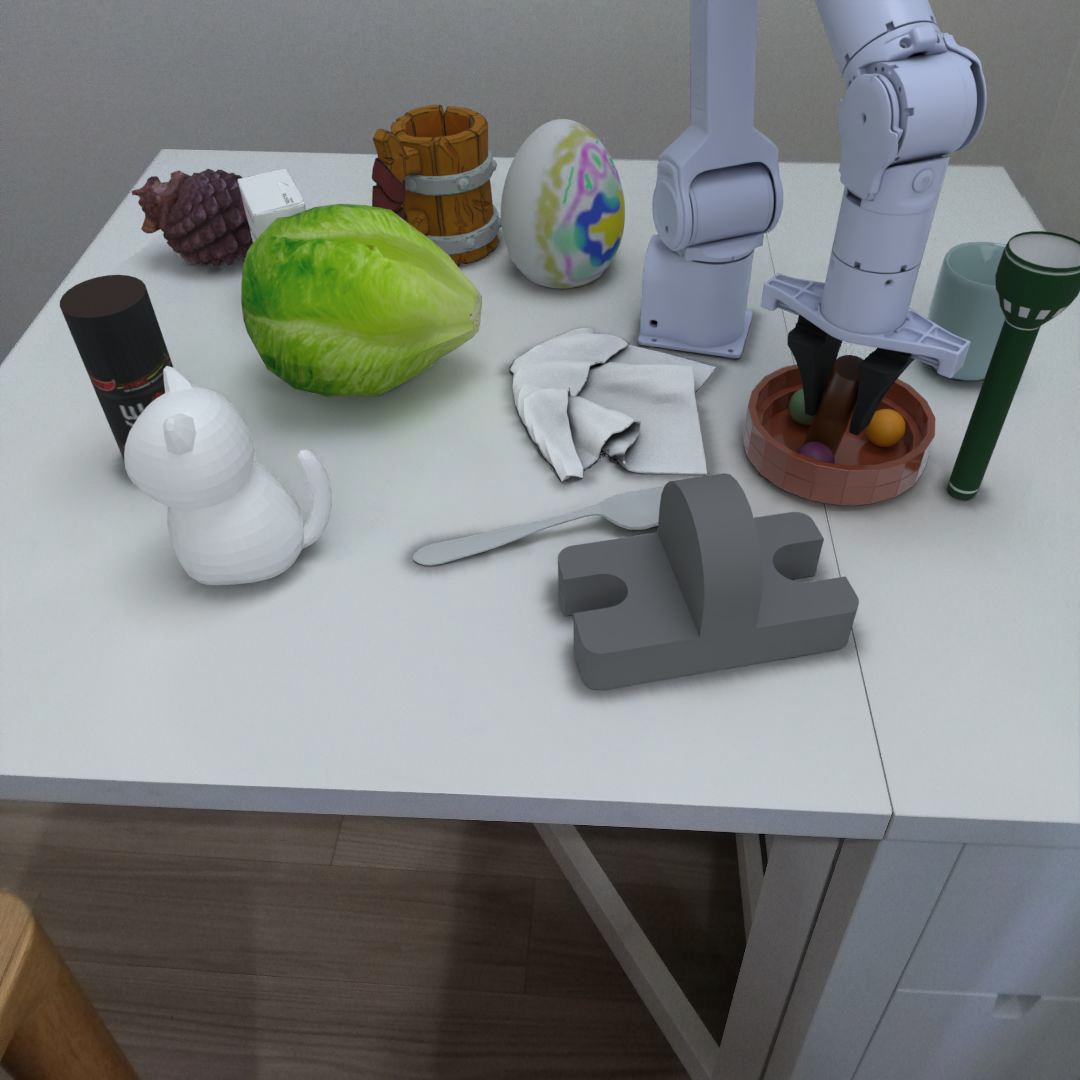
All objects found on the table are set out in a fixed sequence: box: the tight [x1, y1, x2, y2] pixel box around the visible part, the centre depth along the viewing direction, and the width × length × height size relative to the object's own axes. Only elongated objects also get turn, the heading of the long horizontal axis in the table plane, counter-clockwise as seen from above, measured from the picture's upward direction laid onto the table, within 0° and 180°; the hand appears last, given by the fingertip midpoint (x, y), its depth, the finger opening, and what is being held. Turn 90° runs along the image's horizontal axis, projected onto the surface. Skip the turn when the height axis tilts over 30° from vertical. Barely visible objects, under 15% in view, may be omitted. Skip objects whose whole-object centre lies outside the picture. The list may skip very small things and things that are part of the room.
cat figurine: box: [123, 366, 333, 586], centre depth 66 cm, size 9×12×15 cm
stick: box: [803, 354, 864, 456], centre depth 73 cm, size 3×3×9 cm
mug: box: [371, 104, 502, 266], centre depth 99 cm, size 11×16×15 cm, turn 148°
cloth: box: [508, 327, 717, 482], centre depth 82 cm, size 20×22×2 cm
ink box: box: [238, 168, 307, 243], centre depth 93 cm, size 8×5×12 cm, turn 23°
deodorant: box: [59, 274, 175, 463], centre depth 75 cm, size 6×6×15 cm
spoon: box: [412, 487, 664, 566], centre depth 72 cm, size 4×21×2 cm, turn 104°
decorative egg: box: [500, 118, 626, 289], centre depth 95 cm, size 12×12×15 cm
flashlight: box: [947, 230, 1080, 501], centre depth 68 cm, size 5×5×20 cm
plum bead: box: [796, 442, 835, 464], centre depth 74 cm, size 3×3×3 cm
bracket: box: [557, 472, 860, 691], centre depth 63 cm, size 10×18×11 cm, turn 101°
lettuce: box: [240, 203, 483, 398], centre depth 82 cm, size 17×20×15 cm
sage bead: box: [788, 389, 814, 425], centre depth 79 cm, size 3×3×3 cm
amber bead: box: [865, 409, 906, 447], centre depth 77 cm, size 3×3×3 cm
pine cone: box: [131, 168, 253, 268], centre depth 102 cm, size 18×10×10 cm
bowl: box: [742, 363, 936, 506], centre depth 77 cm, size 14×14×4 cm
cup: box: [926, 241, 1007, 382], centre depth 83 cm, size 8×8×10 cm
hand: (837, 418), depth 73 cm, fingers closed on stick, 3 cm apart
